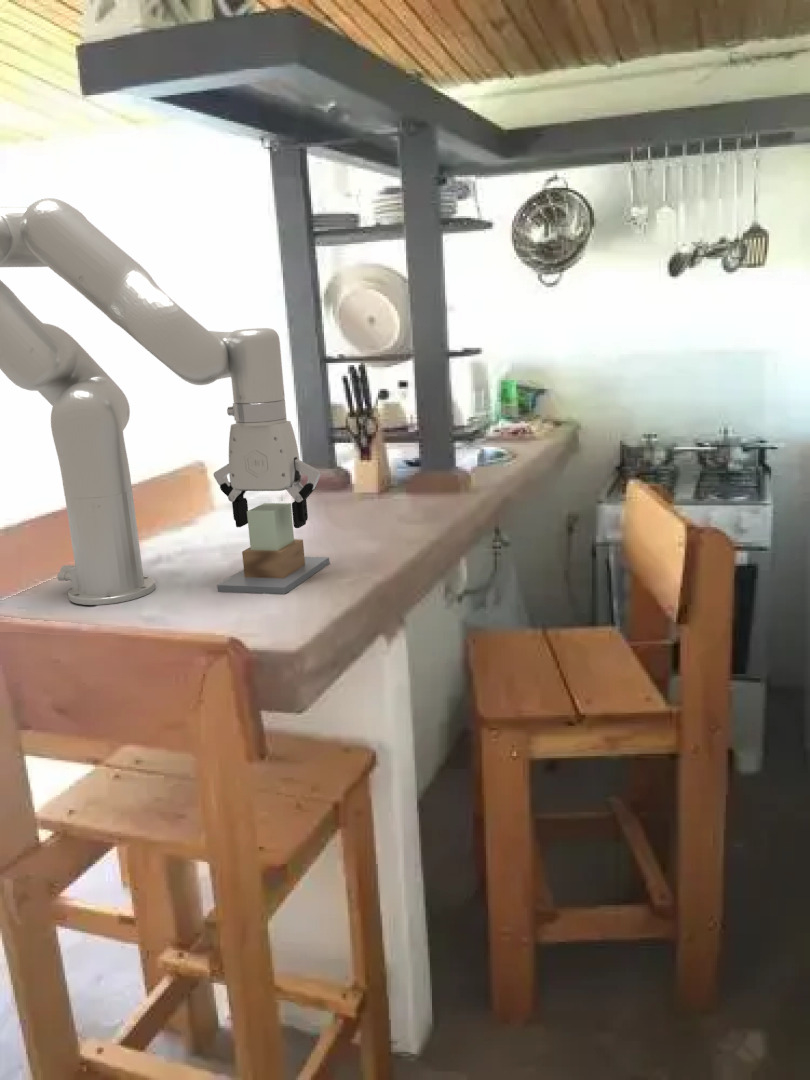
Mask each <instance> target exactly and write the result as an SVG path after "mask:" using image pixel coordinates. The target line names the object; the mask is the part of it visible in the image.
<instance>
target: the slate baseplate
mask: <svg viewBox="0 0 810 1080" xmlns="http://www.w3.org/2000/svg"><path fill="white" fill-rule="evenodd" d="M304 557H305V565H303V566H302V567H300V568H299V569H297V570H296V571H294V572H293V573H291V574H290V575H288V576H286V577H285V578H257V577H245V576H244V569H242V570H240V571H239V572H236V573H235V574H234V575H233V574H232V576H230V577H228V578H226V579H225V580H224V581H221V582H219V584H217V585H216V589H217V592H218V593H219V592H221V593H222V592H223V593H224V592H226V593H248V594H271V595H275V594H276V595H286V594H288V593H289V592H291V591H292V590H293V589H295V588H296V587H298V586H299V585H301V584H302V583H303V582H305V581H306V580H308V579H309V578H310V577H312V576H313V575H315V574H316V573H318V572H319V571H321V570H322V569H323V568H325V567H327V566H328V565H329V564H330V557H329V556H304Z"/></svg>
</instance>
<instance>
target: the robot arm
mask: <svg viewBox="0 0 810 1080" xmlns="http://www.w3.org/2000/svg"><path fill="white" fill-rule="evenodd" d="M47 267H48V268H50V270H52V271H53V272H54V273H55V274H56V275H58V277H60V278H61V279H63V280H64V281H65V282H67V283H68V284H69V285H70V286H71V287H73V288H74V289H75V290H76V291H77V292H79V293H80V294H81V295H82V296H83V297H84V298H86V300H88V301H89V302H90V303H91V304H92V305H94V306H95V307H96V308H97V309H98V310H99V311H101V313H103V314H104V315H105V316H106V317H107V318H108V319H109V320H111V322H113V323H114V324H116V325H117V326H119V328H121V329H122V330H123V331H125V332H126V333H127V334H128V335H130V337H132V338H133V339H134V340H135V341H136V342H137V343H138V344H139V345H141V346H142V347H143V348H144V349H145V350H146V351H148V352H149V353H150V354H151V355H152V356H153V357H155V358H156V359H157V360H159V362H161V363H162V364H163V365H165V366H166V367H167V368H168V369H170V371H171V372H173V373H174V374H175V375H176V376H178V377H179V378H181V379H182V380H183V381H185V382H187V383H189V384H192V385H194V386H207V385H209V384H213V383H214V382H216V381H217V380H220V379H227V378H231V388H232V389H231V390H232V398H233V399H232V400H233V403H232V406H228V407H227V410H226V411H227V415H228V417H229V416H231V417H233V419H234V421H235V423H232V424H231V425H230V427H229V428H230V430H229V437H228V438H229V439H228V463H227V464H225V465H224V466H223V467H221V468H219V469H218V470H216V471H214V473H213V477H214V479H215V481H216V483H217V484H218V486H219V489H220V491H221V492H222V493H223V494H224V495H225V496H227V499H228V501H229V502H230V503H231V505H232V515H233V520H234V521H235V527H236V528H241V527H244V526H246V525H248V518H247V511H249V506H248V505H249V504H248V499H247V497H244V496H245V495H246V493H247V492H280V491H281V492H282V491H287V493H288V494H289V495H290V496H291V498H293V499H294V501H293V502H292V503H291V511H292V522H293V528H295V529H300V528H302V527H304V526H305V525H306V524H307V521H308V514H309V513H308V505H307V499H309V498H310V495H311V494H312V493H313V492H314V491H315V489H316V488H317V483H318V482H319V480H320V478H321V475H322V472H321V471H320V470H319V469H317V468H316V467H314V466H311V465H310V464H307V463H305V462H304V461H301V460H300V455H299V449H298V443H297V440H296V439H297V438H296V435H295V430H294V429H293V425H292V422H291V421H290V420H287V406H286V400H285V398H286V394H285V385H284V376H283V364H282V353H281V352H282V351H281V342H280V336H279V333H278V331H276V330H274V329H273V328H267V327H265V328H264V327H263V328H262V327H260V328H258V327H257V328H244V329H236V330H233V331H215V330H208V329H207V328H206V327H205V326H203V325H202V324H201V323H200V322H198V321H197V319H195V318H193V317H192V316H191V315H190V314H189V313H188V312H187V311H186V310H184V309H183V308H182V307H180V306H179V304H177V302H175V301H174V300H173V299H172V298H171V297H169V295H168V294H167V293H166V292H164V290H162V289H161V288H160V286H159V285H158V284H157V282H155V280H154V279H153V277H152V276H151V275H150V273H148V271H147V270H146V269H145V268H144V267H143V266H142V265H141V264H140V263H139V262H138V261H136V260H135V259H134V258H133V257H131V256H130V255H129V254H128V253H127V252H126V251H124V250H123V249H122V248H121V247H119V246H118V245H117V244H116V243H115V242H113V241H112V240H111V238H109V237H108V236H106V235H105V234H104V233H103V232H102V231H100V230H99V228H98V227H96V226H95V225H94V224H93V223H92V222H90V221H89V220H88V219H87V218H86V216H85V215H84V214H83V213H82V212H81V211H79V210H78V209H77V208H75V207H73V206H72V205H71V204H70V203H67V202H66V201H64V200H60V199H57V198H48V197H47V198H43V199H39V200H37V201H34V202H33V203H31V205H29V206H27V207H23V206H22V207H21V206H20V207H15V206H14V207H13V206H12V207H11V206H10V207H9V206H0V268H47ZM0 370H1V372H2V373H3V374H4V375H5V376H6V377H7V378H8V379H9V380H10V381H11V382H12V383H13V385H14V384H15V385H16V386H18V387H20V388H21V389H23V390H28V391H33V392H34V391H36V392H38V393H39V394H40V395H41V396H42V397H43V398H44V399H45V400H46V401H47V402H48V403H49V404H50V405H51V406H52V408H51V413H50V428H51V434H52V439H53V443H54V445H55V446H54V447H55V450H56V454H57V459H58V463H59V469H60V474H61V475H60V476H61V481H62V487H63V493H64V494H63V495H64V499H65V504H66V513H67V518H68V526H69V533H70V539H71V548H72V554H73V560H74V564H73V565H70V564H69V565H68V564H64V565H62V566H61V567H60V569H59V570H60V571H59V572H58V573H57V576H56V577H57V580H58V581H61V582H62V581H63V582H64V581H67V582H68V581H70V583H71V588H70V589H69V590H68V592H67V595H68V600H69V601H70V602H72V603H74V604H76V605H77V604H78V605H83V606H105V605H112V604H118V603H124V602H130V601H132V600H136V599H139V598H142V597H145V596H147V595H149V594H151V593H152V592H153V591H154V590H155V588H156V583H155V582H156V581H155V580H154V579H153V578H152V577H150V576H148V575H144V572H143V563H142V556H141V548H140V541H139V540H140V539H139V532H138V525H137V516H136V509H135V502H134V501H135V500H134V494H133V493H134V492H133V487H132V486H133V485H132V479H131V474H130V473H131V472H130V465H129V459H128V453H127V449H126V443H125V437H124V431H125V429H126V427H127V425H128V423H129V420H130V413H131V412H130V410H131V409H130V405H129V404H130V403H129V401H128V398H127V396H126V394H125V393H124V391H123V390H122V389H121V387H119V385H118V384H117V382H115V381H114V380H113V379H112V378H111V377H110V375H108V373H107V372H106V371H105V370H104V369H103V368H102V367H101V366H100V365H99V363H97V362H96V360H95V359H94V358H92V356H91V355H90V354H89V353H88V351H86V350H85V349H84V348H83V346H82V345H80V343H79V342H77V340H75V339H74V338H73V336H72V335H70V334H69V333H68V332H67V331H65V330H64V329H62V328H60V327H59V326H56V325H53V324H49V323H43V322H42V321H41V320H40V319H39V318H38V317H37V316H36V315H35V314H34V313H33V312H31V310H30V309H29V308H28V307H27V306H26V305H25V304H24V303H23V302H22V301H21V300H20V299H19V298H18V296H17V295H16V294H15V292H13V291H12V290H11V289H10V288H9V286H7V285H6V284H5V283H4V281H2V280H1V279H0ZM302 474H303V475H305V476H306V477H307V481H306V484H305V485H304V486H303V484H301V481H302ZM228 476H229V479H228Z"/></svg>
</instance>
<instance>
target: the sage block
mask: <svg viewBox="0 0 810 1080" xmlns="http://www.w3.org/2000/svg"><path fill="white" fill-rule="evenodd" d="M247 518H248V524H247V525H248V527H247V528H248V535H249V536H248V537H249V548H251V550H268V551H278V550H280V549H282V548H283V547H285V546H287V545H288V544H290V543H292V542H293V541H294V539H295V537H294V536H295V535H294V525H293V513H292V503H289V502H288V503H287V502H285V503H283V502H279V503H278V502H277V503H275V502H273V503H272V502H264V503H261V504H260V505H258V506H255V507H254V508H250V509H248V511H247Z"/></svg>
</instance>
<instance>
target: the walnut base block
mask: <svg viewBox="0 0 810 1080" xmlns="http://www.w3.org/2000/svg"><path fill="white" fill-rule="evenodd" d="M241 554H242V565H243V570H244V576H245V577H257V578H285V577H286V576H288V575H290V574H291V573H293V572H294V571H296V570H297V569H299V568H300V567H302V566H303V565H305V557H306V556H305V548H304V539H298V538H297V539H295V538H294V541H293V542H292V543H290V544H288V545H287V546H285V547H283V548H282V549H280V550H278V551H268V550H251V548H250V547H248V548H246V549H244V550H242V551H241Z"/></svg>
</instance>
